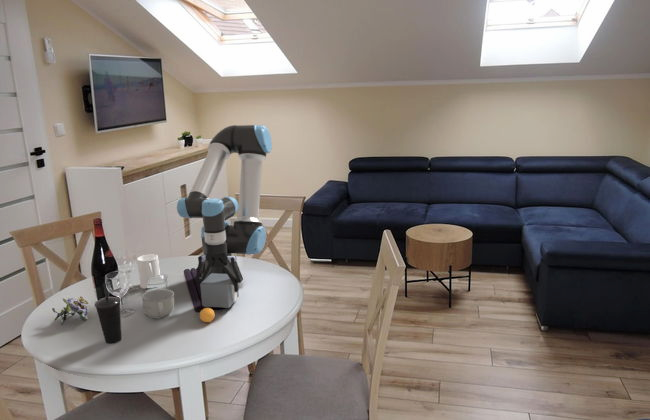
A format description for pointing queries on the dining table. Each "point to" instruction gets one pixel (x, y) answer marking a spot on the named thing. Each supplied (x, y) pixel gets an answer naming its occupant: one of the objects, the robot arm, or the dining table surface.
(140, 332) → the dining table surface
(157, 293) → the teacup
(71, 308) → the passion flower
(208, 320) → the ball
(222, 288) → the grey matte cube
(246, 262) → the dining table surface
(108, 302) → the drinking cup
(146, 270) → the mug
